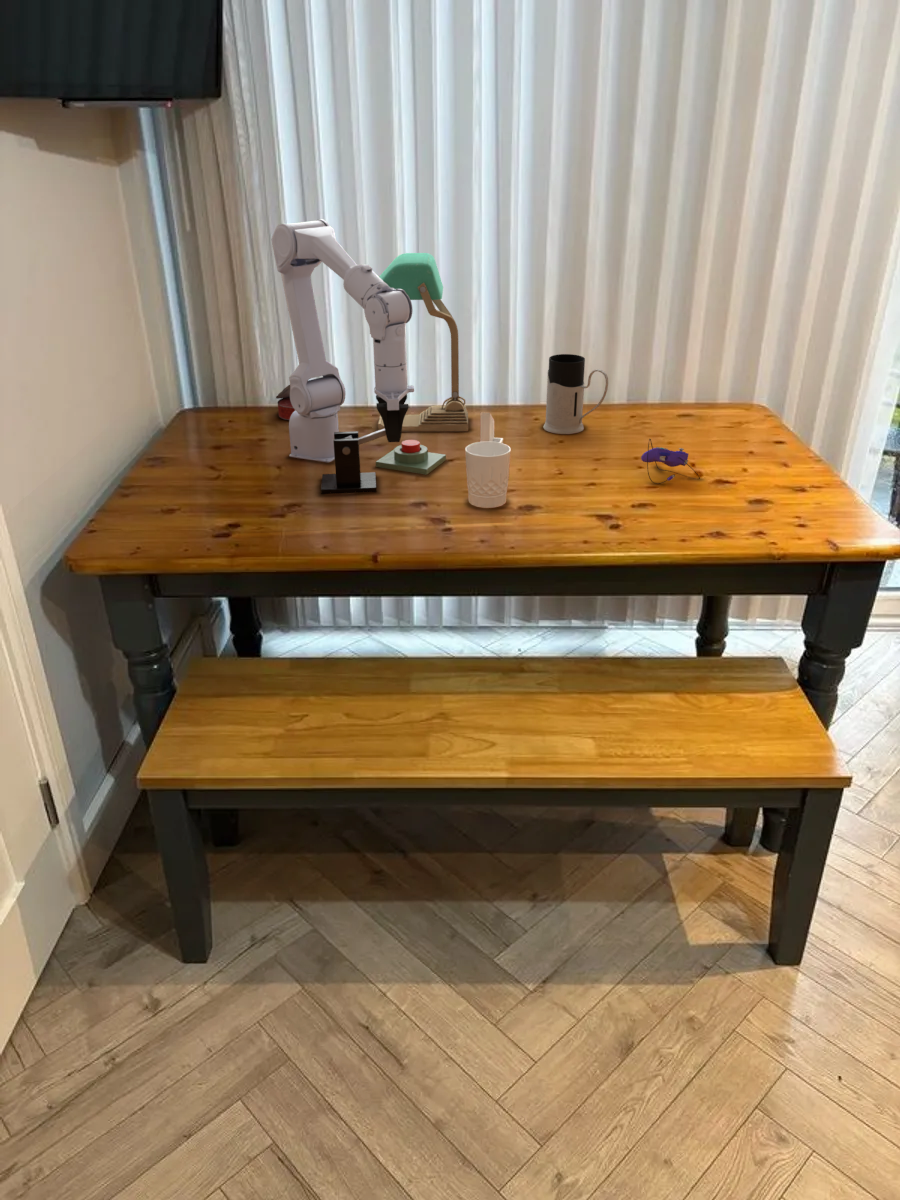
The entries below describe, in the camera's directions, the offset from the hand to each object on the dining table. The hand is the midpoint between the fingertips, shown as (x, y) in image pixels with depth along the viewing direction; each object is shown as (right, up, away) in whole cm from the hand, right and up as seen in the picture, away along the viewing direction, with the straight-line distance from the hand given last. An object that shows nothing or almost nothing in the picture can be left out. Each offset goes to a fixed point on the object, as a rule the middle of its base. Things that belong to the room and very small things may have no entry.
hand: (393, 437), depth 172 cm
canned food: (-24, +13, +44) cm, 51 cm away
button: (+3, -1, +12) cm, 13 cm away
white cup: (+17, -12, -3) cm, 21 cm away
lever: (-4, -1, 0) cm, 4 cm away
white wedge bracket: (+19, -1, +17) cm, 25 cm away
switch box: (+3, -3, +14) cm, 14 cm away
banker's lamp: (+4, +9, +36) cm, 37 cm away
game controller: (+52, -6, +7) cm, 53 cm away
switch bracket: (-8, -8, +4) cm, 13 cm away
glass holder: (+37, +7, +32) cm, 50 cm away
